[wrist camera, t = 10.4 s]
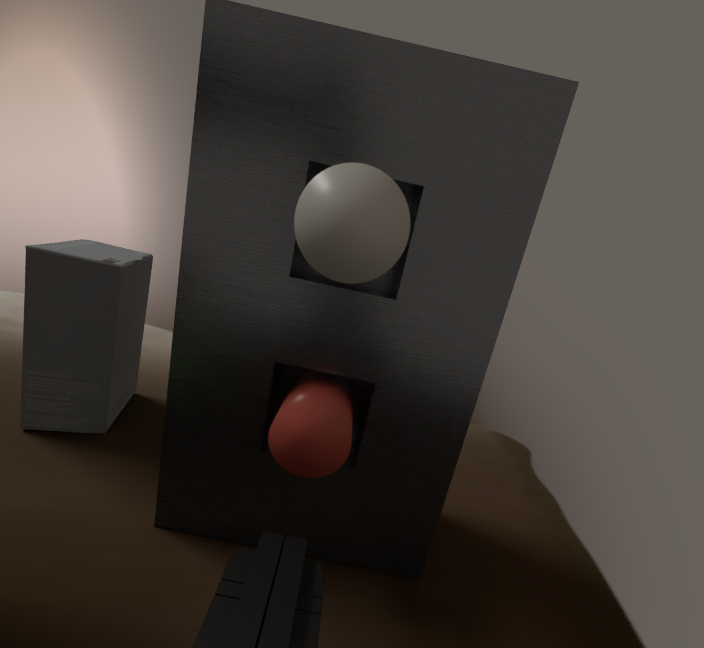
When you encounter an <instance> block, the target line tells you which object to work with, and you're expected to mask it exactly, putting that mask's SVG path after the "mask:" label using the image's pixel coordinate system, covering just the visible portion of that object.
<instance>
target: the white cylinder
mask: <svg viewBox="0 0 704 648" xmlns="http://www.w3.org/2000/svg"><path fill="white" fill-rule="evenodd" d="M294 230H295V237H296V240H297V244H298V246H299V249H300V251H301V253H302V254H303V256H304V258H305V259H306V260H307V262H308V263H309V264H310V265H311V266H312V267H313V268H314V269H315V270H316V271H317V272H319V273H320V274H322V275H323V276H325V277H327V278H329V279H331V280H334V281H337V282H341V283H349V284H356V283H363V282H367V281H370V280H373V279H375V278H377V277H379V276H381V275H383V274H384V273H386V272H387V271H388V270H389V269H390V268H392V267H393V266H394V265H395V263H396V262H397V261H398V260H399V258H400V257H401V255H402V253H403V251H404V249H405V247H406V245H407V241H408V238H409V233H410V213H409V208H408V204H407V201H406V199H405V197H404V195H403V193H402V191H401V189H400V188H399V186H398V185H397V184H396V183H395V182H394V180H393V179H392V178H391V177H389V176H388V175H387V174H386V173H384V172H383V171H381V170H380V169H377V168H375V167H373V166H370V165H367V164H363V163H342V164H338V165H334V166H332V167H329V168H327V169H325V170H324V171H322V172H320V173H319V174H318V175H316V176H315V177H314V178H313V179H312V180H311V181H310V182H309V183H308V184H307V186H306V187H305V189H304V190H303V192H302V194H301V196H300V198H299V200H298V203H297V206H296V210H295V217H294Z"/></svg>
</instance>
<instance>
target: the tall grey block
mask: <svg viewBox="0 0 704 648" xmlns="http://www.w3.org/2000/svg"><path fill="white" fill-rule="evenodd" d="M578 83H579V82H576V81H572V80H568V79H563V78H558V77H555V76H550V75H546V74H541V73H537V72H533V71H529V70H525V69H520V68H516V67H512V66H507V65H503V64H499V63H494V62H490V61H486V60H482V59H477V58H473V57H468V56H464V55H460V54H456V53H451V52H447V51H443V50H439V49H434V48H430V47H425V46H421V45H417V44H413V43H408V42H404V41H400V40H395V39H391V38H387V37H382V36H378V35H374V34H369V33H365V32H361V31H357V30H352V29H348V28H344V27H340V26H335V25H331V24H327V23H322V22H318V21H313V20H310V19H305V18H301V17H297V16H292V15H288V14H284V13H280V12H275V11H270V10H267V9H262V8H258V7H254V6H249V5H245V4H241V3H236V2H232V1H228V0H206V2H205V13H204V22H203V33H202V44H201V53H200V64H199V74H198V84H197V95H196V104H195V115H194V126H193V135H192V145H191V156H190V166H189V177H188V186H187V197H186V207H185V217H184V228H183V237H182V248H181V258H180V268H179V278H178V288H177V299H176V310H175V319H174V329H173V340H172V350H171V360H170V370H169V381H168V391H167V401H166V411H165V421H164V432H163V442H162V452H161V462H160V473H159V483H158V493H157V503H156V514H155V524H154V526H157V527H162V528H167V529H172V530H177V531H182V532H187V533H192V534H197V535H202V536H207V537H212V538H217V539H222V540H227V541H232V542H237V543H242V544H247V545H252V546H257V547H258V544H259V541H260V538H261V535H262V533H263V531H266V532H271V533H276V534H282V535H285V537H284V542H283V547H284V543H285V539H286V536H292V537H298V538H303V539H308V541H307V547H306V552H305V556H307V557H312V558H317V559H322V560H327V561H332V562H337V563H342V564H347V565H352V566H357V567H362V568H367V569H372V570H377V571H382V572H387V573H392V574H397V575H402V576H408V577H413V578H418V579H420V576H421V573H422V570H423V567H424V564H425V561H426V558H427V554H428V551H429V548H430V545H431V542H432V539H433V536H434V533H435V529H436V526H437V523H438V520H439V517H440V514H441V511H442V508H443V505H444V501H445V498H446V495H447V492H448V489H449V486H450V483H451V480H452V476H453V473H454V470H455V467H456V464H457V461H458V458H459V455H460V452H461V448H462V445H463V442H464V439H465V436H466V433H467V430H468V427H469V423H470V420H471V417H472V414H473V411H474V408H475V405H476V402H477V399H478V395H479V392H480V389H481V386H482V383H483V380H484V377H485V373H486V370H487V367H488V364H489V361H490V358H491V355H492V352H493V348H494V345H495V342H496V339H497V336H498V333H499V330H500V327H501V324H502V320H503V317H504V314H505V311H506V308H507V305H508V302H509V299H510V295H511V292H512V289H513V286H514V283H515V280H516V276H517V274H518V271H519V268H520V264H521V261H522V258H523V255H524V252H525V249H526V246H527V242H528V239H529V236H530V233H531V230H532V227H533V224H534V221H535V218H536V214H537V211H538V208H539V205H540V201H541V199H542V196H543V193H544V190H545V186H546V183H547V180H548V177H549V174H550V170H551V168H552V165H553V161H554V158H555V155H556V152H557V149H558V146H559V143H560V140H561V137H562V133H563V130H564V127H565V124H566V121H567V118H568V115H569V112H570V108H571V105H572V102H573V99H574V96H575V93H576V90H577V87H578ZM342 163H363V164H367V165H370V166H373V167H375V168H377V169H380V170H381V171H383V172H384V173H386V174H387V175H388V176H389V177H391V178H392V179H393V180H394V182H395V183H396V184H397V185H398V186H399V188H400V189H401V191H402V193H403V195H404V197H405V199H406V201H407V204H408V208H409V213H410V233H409V238H408V241H407V245H406V247H405V249H404V251H403V253H402V255H401V257H400V258H399V260H398V261H397V262H396V263H395V265H394V266H393V267H392V268H390V269H389V270H388V271H387V272H386V273H384V274H383V275H381V276H379V277H377V278H375V279H373V280H370V281H367V282H363V283H356V284H349V283H341V282H337V281H334V280H331V279H329V278H327V277H325V276H323V275H322V274H320V273H319V272H317V271H316V270H315V269H314V268H313V267H312V266H311V265H310V264H309V263H308V262H307V260H306V259H305V258H304V256H303V254H302V253H301V251H300V249H299V246H298V244H297V240H296V237H295V230H294V217H295V210H296V206H297V203H298V200H299V198H300V196H301V194H302V192H303V190H304V189H305V187H306V186H307V184H308V183H309V182H310V181H311V180H312V179H313V178H314V177H315V176H316V175H318V174H319V173H320V172H322V171H324V170H325V169H327V168H329V167H332V166H334V165H338V164H342ZM310 370H316V371H321V372H326V373H330V374H335V375H340V376H341V377H343V378H344V379H345V380H346V382H347V383H348V384H349V386H350V388H351V390H352V393H353V420H352V440H351V450H350V453H349V456H348V458H347V460H346V461H345V463H344V464H343V465H342V466H341V467H340V468H339V469H338V470H336V471H335V472H333V473H331V474H329V475H326V476H324V477H319V478H305V477H300V476H296V475H294V474H292V473H290V472H288V471H286V470H285V469H283V468H282V467H281V466H280V465H279V464H278V463H277V462H276V460H275V459H274V457H273V455H272V453H271V451H270V448H269V443H268V436H269V430H270V427H271V425H272V423H273V421H274V419H275V417H276V415H277V413H278V411H279V409H280V407H281V405H282V403H283V401H284V399H285V397H286V395H287V394H288V392H289V390H290V388H291V386H292V384H293V382H294V381H295V380H296V379H297V378H298V377H299V376H300V375H302V374H303V373H305V372H308V371H310ZM283 547H282V551H283Z"/></svg>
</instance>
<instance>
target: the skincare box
mask: <svg viewBox="0 0 704 648" xmlns="http://www.w3.org/2000/svg"><path fill="white" fill-rule="evenodd" d="M25 247H26V266H25V300H24V330H23V362H22V387H21V414H20V427H21V428H22V429H27V430H47V431H65V432H81V433H106V432H107V430H108V429H109V427H110V426H111V425H112V423H113V422H114V421H115V419H116V418H117V416H118V415H119V414H120V412H121V411H122V409H123V408H124V407H125V405H126V404H127V403H128V401H129V400H130V398H131V397H132V396H133V394H134V393H135V391H136V386H137V378H138V370H139V362H140V354H141V346H142V339H143V331H144V323H145V316H146V307H147V300H148V293H149V284H150V277H151V269H152V260H153V256H152V255H151V254H148V253H143V252H138V251H133V250H129V249H125V248H121V247H116V246H112V245H108V244H104V243H100V242H96V241H90V240H74V241H67V242H59V243H49V244H40V245H29V246H25Z"/></svg>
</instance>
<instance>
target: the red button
mask: <svg viewBox="0 0 704 648" xmlns="http://www.w3.org/2000/svg"><path fill="white" fill-rule="evenodd" d="M352 420H353V393H352V390H351V388H350V386H349V384H348V383H347V382H346V380H345V379H344V378H343V377H341V376H340V375H335V374H330V373H326V372H321V371H316V370H310V371H308V372H305V373H303V374H302V375H300V376H299V377H298V378H297V379H296V380H295V381H294V382H293V384H292V386H291V388H290V390H289V392H288V394H287V395H286V397H285V399H284V401H283V403H282V405H281V407H280V409H279V411H278V413H277V415H276V417H275V419H274V421H273V423H272V425H271V427H270V430H269V436H268V443H269V448H270V451H271V453H272V455H273V457H274V459H275V460H276V462H277V463H278V464H279V465H280V466H281V467H282V468H283V469H285V470H286V471H288V472H290V473H292V474H294V475H296V476H300V477H305V478H319V477H324V476H326V475H329V474H331V473H333V472H335V471H336V470H338V469H339V468H340V467H341V466H342V465H343V464H344V463H345V461H346V460H347V458H348V456H349V453H350V450H351V440H352Z"/></svg>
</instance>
